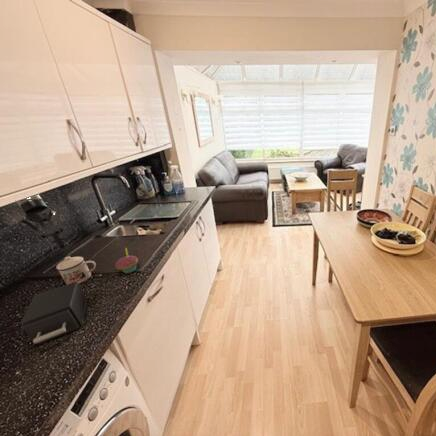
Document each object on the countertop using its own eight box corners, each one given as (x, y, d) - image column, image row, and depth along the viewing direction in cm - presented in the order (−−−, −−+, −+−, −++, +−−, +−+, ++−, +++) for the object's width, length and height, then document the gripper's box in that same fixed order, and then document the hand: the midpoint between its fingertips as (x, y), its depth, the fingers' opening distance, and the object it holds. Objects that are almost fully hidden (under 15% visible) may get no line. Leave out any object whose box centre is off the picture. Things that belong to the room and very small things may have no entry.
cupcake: (140, 262, 112) (131, 241, 107) (141, 271, 106) (132, 249, 101) (119, 269, 108) (108, 247, 103) (119, 279, 102) (107, 256, 97)
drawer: (77, 336, 75) (65, 319, 72) (33, 355, 70) (18, 337, 67) (84, 303, 89) (74, 287, 85) (47, 316, 84) (36, 300, 81)
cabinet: (83, 326, 80) (69, 305, 76) (36, 345, 74) (19, 323, 70) (88, 300, 91) (76, 281, 87) (48, 315, 86) (34, 295, 82)
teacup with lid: (63, 289, 98) (49, 266, 93) (68, 278, 105) (55, 256, 100) (99, 278, 104) (87, 256, 99) (101, 268, 111) (90, 246, 106)
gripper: (8, 204, 97) (40, 250, 95) (50, 194, 107) (80, 236, 105) (13, 214, 102) (43, 257, 100) (52, 204, 112) (80, 243, 110)
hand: (62, 246), depth 103 cm, fingers closed
